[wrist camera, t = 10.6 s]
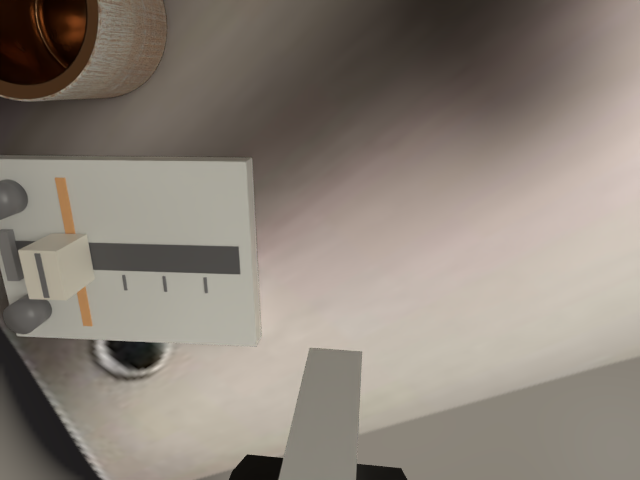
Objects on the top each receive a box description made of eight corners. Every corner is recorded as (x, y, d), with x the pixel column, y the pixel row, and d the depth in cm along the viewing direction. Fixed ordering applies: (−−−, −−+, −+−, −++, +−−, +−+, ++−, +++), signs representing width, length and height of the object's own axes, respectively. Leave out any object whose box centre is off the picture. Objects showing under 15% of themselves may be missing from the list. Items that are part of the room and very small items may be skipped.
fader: (52, 233, 38) (16, 250, 34) (86, 234, 38) (55, 251, 34) (61, 278, 39) (28, 299, 36) (94, 279, 39) (65, 300, 35)
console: (-8, 155, 39) (-51, 163, 35) (252, 157, 37) (238, 166, 33) (31, 325, 44) (-1, 349, 40) (261, 334, 42) (250, 361, 38)
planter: (70, -101, 32) (-45, -171, 23) (198, 6, 34) (138, -21, 25) (5, 35, 36) (-116, 20, 26) (125, 126, 37) (48, 141, 28)
